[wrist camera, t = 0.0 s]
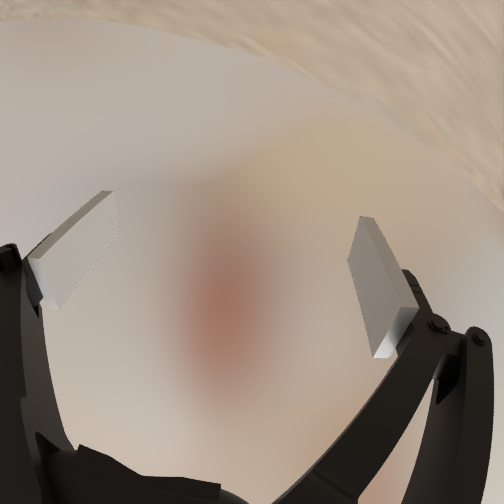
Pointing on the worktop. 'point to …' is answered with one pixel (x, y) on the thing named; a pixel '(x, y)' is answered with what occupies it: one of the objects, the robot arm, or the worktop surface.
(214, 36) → the worktop surface
